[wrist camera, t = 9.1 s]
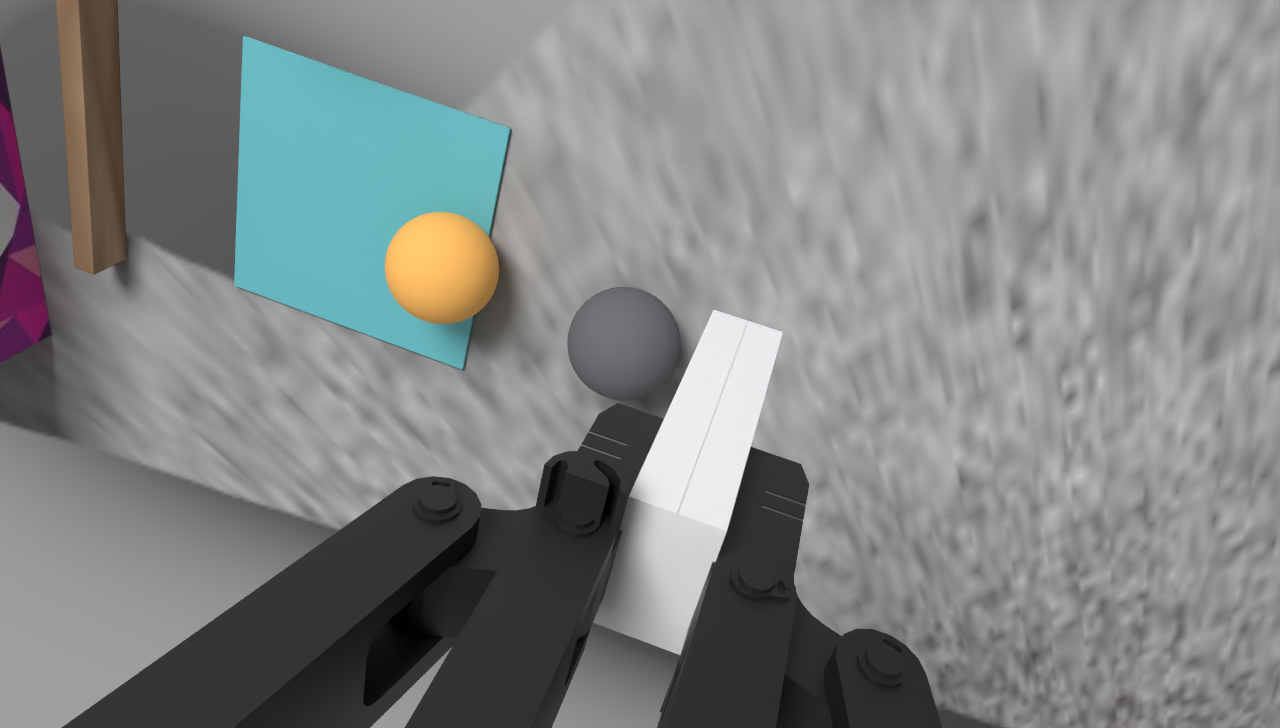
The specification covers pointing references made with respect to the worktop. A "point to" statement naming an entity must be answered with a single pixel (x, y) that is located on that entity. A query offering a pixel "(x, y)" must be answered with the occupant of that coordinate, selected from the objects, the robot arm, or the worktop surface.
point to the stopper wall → (93, 130)
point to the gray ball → (623, 343)
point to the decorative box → (17, 247)
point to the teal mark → (351, 190)
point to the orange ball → (441, 267)
